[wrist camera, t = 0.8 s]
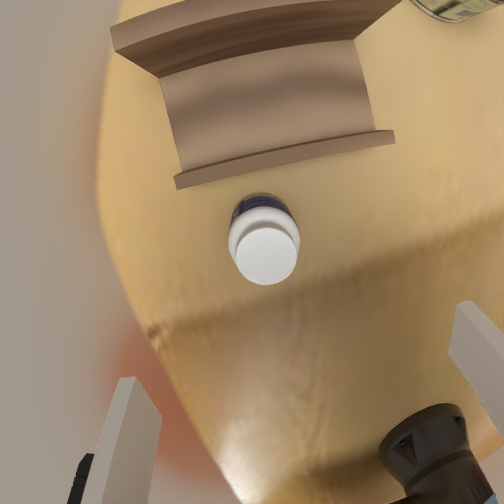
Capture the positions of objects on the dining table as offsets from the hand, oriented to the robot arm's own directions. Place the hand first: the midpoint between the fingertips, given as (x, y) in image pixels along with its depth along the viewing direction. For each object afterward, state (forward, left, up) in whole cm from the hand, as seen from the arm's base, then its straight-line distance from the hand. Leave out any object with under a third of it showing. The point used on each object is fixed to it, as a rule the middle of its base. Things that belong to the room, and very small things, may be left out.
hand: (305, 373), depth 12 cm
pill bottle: (+1, +1, -19) cm, 19 cm away
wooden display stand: (+12, -2, -19) cm, 22 cm away
